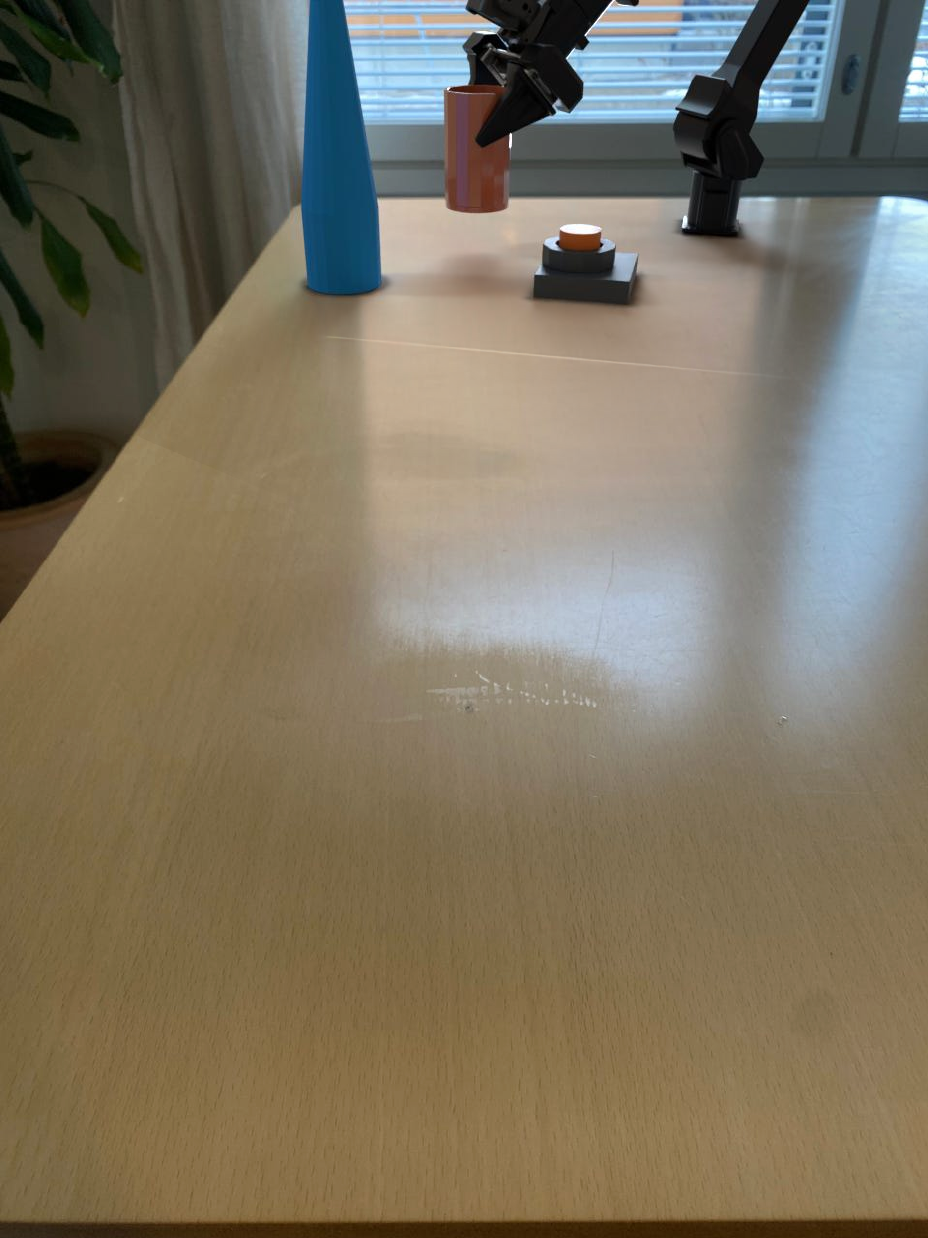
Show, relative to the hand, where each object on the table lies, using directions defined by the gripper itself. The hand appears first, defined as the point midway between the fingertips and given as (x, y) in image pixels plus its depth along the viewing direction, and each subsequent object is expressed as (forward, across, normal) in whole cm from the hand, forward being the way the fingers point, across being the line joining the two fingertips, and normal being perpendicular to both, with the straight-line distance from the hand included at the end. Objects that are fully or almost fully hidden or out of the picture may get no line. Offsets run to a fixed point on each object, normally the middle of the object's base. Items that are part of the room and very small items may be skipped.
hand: (465, 138), depth 97 cm
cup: (+4, 0, +6) cm, 7 cm away
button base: (+3, +16, +13) cm, 21 cm away
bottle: (+19, +7, -3) cm, 20 cm away
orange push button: (+1, +15, +10) cm, 18 cm away
